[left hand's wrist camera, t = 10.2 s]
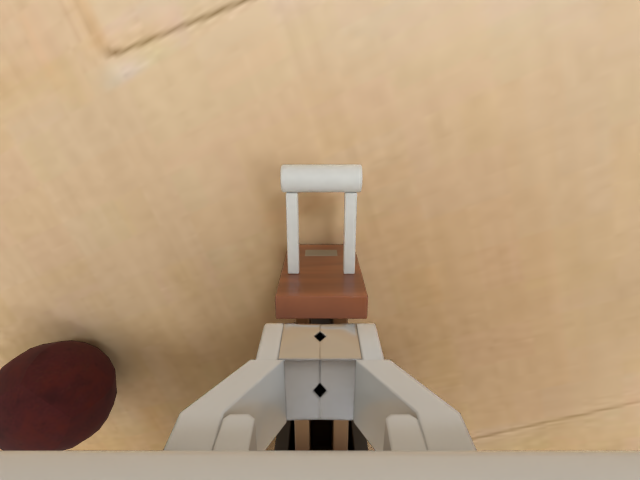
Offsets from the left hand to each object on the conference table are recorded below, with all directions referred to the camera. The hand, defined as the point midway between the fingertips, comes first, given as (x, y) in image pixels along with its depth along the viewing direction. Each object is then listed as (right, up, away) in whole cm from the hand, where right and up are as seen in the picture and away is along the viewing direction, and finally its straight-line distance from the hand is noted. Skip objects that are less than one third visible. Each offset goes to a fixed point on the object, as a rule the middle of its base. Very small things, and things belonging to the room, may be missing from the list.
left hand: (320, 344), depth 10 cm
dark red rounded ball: (-18, -6, +19) cm, 27 cm away
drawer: (0, -3, +17) cm, 17 cm away
